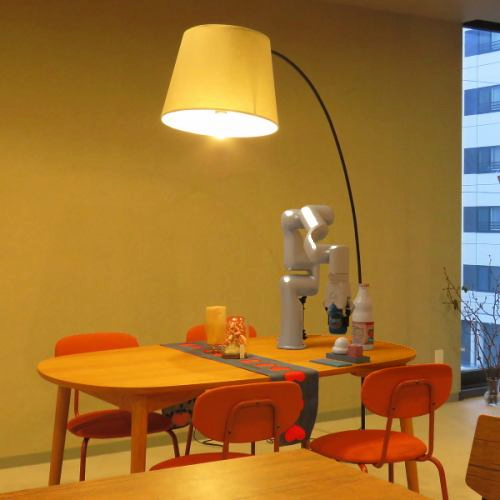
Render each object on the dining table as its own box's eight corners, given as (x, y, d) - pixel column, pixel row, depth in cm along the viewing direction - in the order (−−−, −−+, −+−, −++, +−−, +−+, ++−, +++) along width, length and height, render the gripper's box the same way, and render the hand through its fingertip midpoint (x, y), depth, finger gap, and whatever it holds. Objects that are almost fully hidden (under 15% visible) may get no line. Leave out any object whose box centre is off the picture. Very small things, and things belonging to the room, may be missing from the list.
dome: (328, 352, 303) (328, 336, 303) (342, 350, 308) (342, 335, 308) (342, 354, 297) (342, 339, 297) (356, 352, 302) (356, 337, 302)
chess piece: (304, 340, 356) (305, 296, 356) (287, 339, 358) (288, 296, 357) (307, 337, 364) (307, 295, 364) (290, 337, 366) (291, 295, 365)
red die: (347, 355, 297) (348, 344, 297) (355, 354, 300) (355, 343, 300) (355, 357, 294) (355, 345, 294) (362, 356, 297) (362, 344, 297)
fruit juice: (351, 347, 336) (352, 282, 335) (373, 347, 335) (374, 283, 334) (351, 350, 326) (352, 284, 326) (374, 350, 325) (375, 284, 325)
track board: (309, 361, 294) (309, 360, 294) (323, 360, 299) (323, 358, 299) (337, 367, 283) (337, 365, 283) (352, 365, 287) (352, 363, 287)
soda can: (327, 334, 285) (328, 302, 285) (329, 332, 292) (330, 300, 292) (346, 335, 284) (346, 302, 283) (348, 333, 290) (348, 301, 290)
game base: (325, 358, 304) (325, 352, 304) (340, 356, 309) (340, 351, 309) (355, 363, 292) (355, 358, 292) (370, 361, 297) (370, 356, 297)
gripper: (315, 277, 292) (314, 324, 292) (349, 279, 278) (348, 328, 278) (329, 276, 296) (328, 323, 297) (363, 279, 283) (362, 327, 283)
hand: (338, 325), depth 288 cm, fingers closed on soda can, 6 cm apart
